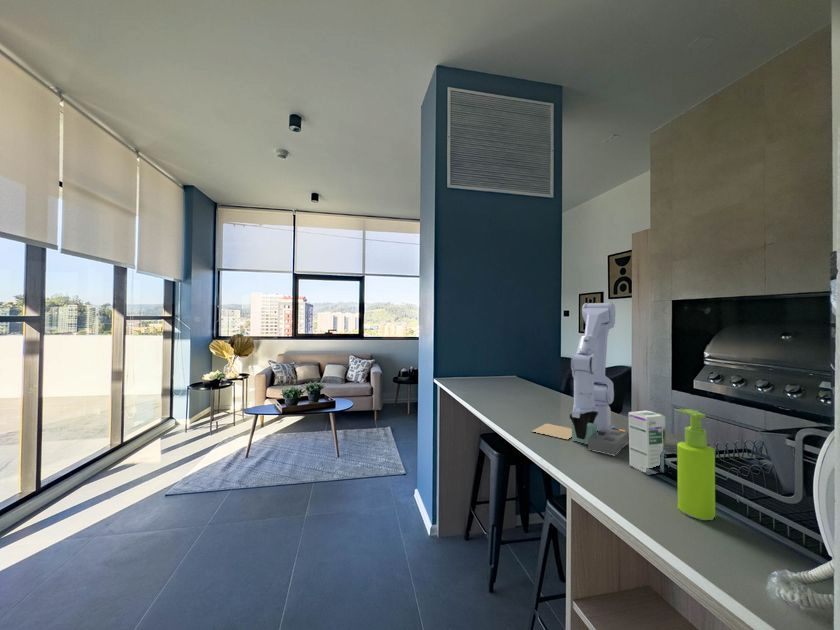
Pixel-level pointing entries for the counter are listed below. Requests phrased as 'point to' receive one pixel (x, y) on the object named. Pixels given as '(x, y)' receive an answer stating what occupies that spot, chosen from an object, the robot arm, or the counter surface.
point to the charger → (590, 431)
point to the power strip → (608, 440)
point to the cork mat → (554, 431)
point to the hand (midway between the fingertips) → (583, 436)
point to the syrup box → (646, 439)
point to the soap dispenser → (696, 470)
